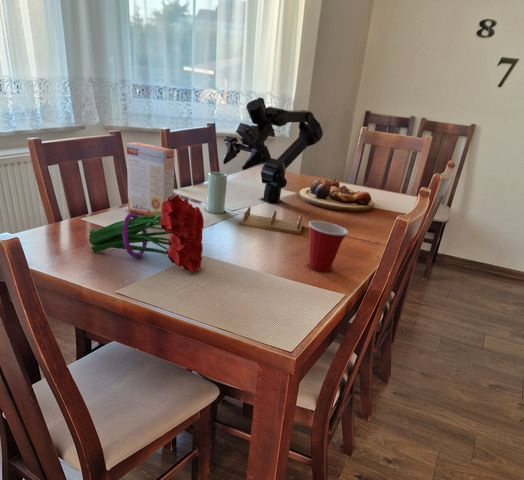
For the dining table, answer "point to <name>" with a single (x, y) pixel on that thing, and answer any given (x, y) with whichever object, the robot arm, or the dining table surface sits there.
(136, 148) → the cracker box
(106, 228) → the bouquet
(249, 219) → the drying rack
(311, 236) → the plastic cup
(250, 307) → the dining table surface
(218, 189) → the tumbler
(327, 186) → the wooden plate
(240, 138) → the robot arm
